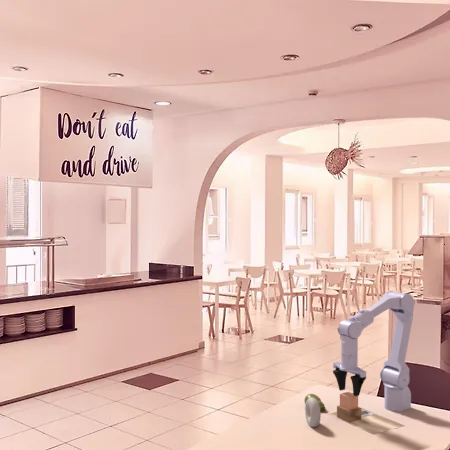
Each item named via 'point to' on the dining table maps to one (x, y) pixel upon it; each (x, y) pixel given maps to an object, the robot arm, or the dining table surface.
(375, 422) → the build board
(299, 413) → the dining table surface
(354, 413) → the base block
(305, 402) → the pear
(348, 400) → the top block
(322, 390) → the dining table surface
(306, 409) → the donut
